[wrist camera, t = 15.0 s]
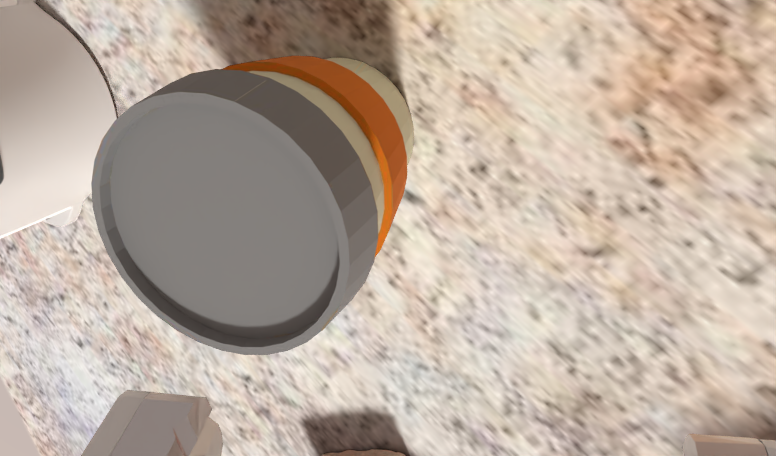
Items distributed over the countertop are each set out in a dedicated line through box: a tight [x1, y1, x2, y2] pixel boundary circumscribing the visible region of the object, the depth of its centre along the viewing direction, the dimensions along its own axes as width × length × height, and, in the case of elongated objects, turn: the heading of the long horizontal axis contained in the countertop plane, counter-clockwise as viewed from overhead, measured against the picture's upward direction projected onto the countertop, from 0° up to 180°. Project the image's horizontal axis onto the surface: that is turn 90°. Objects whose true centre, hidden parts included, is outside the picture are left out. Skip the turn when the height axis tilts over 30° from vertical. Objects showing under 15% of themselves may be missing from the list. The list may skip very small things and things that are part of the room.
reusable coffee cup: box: [91, 56, 414, 355], centre depth 33 cm, size 13×13×15 cm
